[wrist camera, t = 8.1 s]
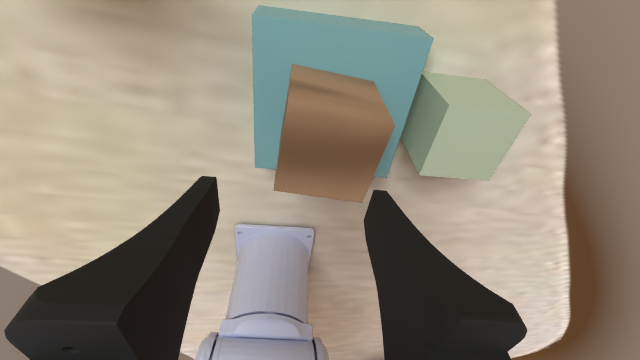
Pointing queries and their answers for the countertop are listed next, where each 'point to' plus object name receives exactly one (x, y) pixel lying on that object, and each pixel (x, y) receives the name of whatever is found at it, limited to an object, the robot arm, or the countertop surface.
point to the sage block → (460, 127)
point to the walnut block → (331, 135)
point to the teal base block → (331, 67)
